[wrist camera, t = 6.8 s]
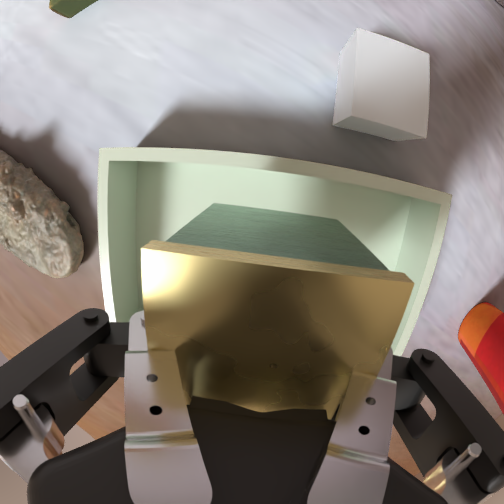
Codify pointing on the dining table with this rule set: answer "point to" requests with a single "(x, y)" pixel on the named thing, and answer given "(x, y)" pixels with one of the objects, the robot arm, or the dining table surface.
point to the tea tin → (269, 307)
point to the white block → (382, 88)
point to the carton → (69, 6)
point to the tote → (258, 196)
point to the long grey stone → (37, 222)
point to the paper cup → (486, 346)
